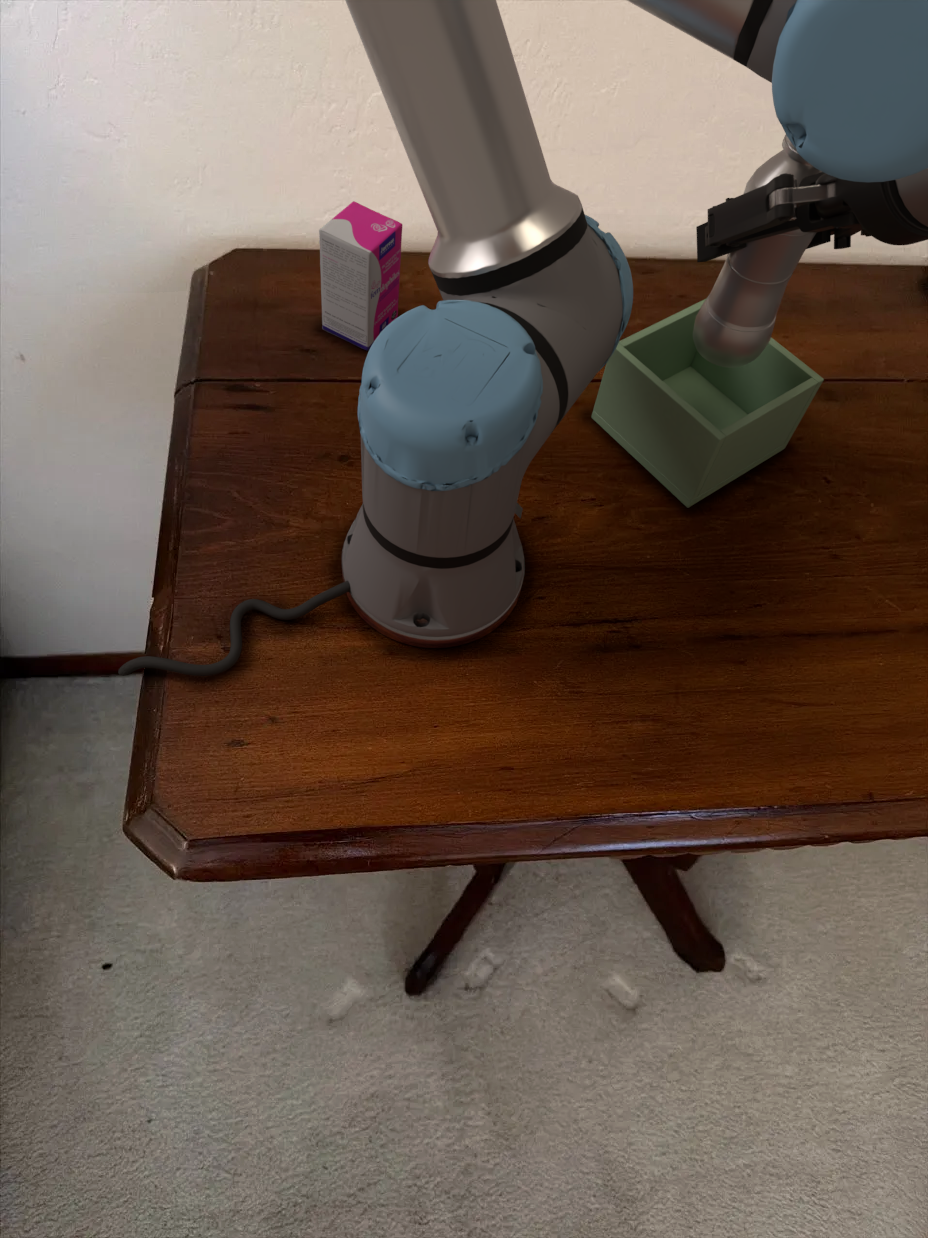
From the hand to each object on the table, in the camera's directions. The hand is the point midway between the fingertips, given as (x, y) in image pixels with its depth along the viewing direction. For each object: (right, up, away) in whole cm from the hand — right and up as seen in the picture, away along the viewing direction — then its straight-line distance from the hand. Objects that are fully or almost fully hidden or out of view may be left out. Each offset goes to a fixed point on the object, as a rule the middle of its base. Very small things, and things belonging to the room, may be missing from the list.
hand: (740, 241), depth 72 cm
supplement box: (-33, -1, +18) cm, 38 cm away
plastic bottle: (0, -8, +5) cm, 9 cm away
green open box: (-1, -13, +14) cm, 19 cm away
